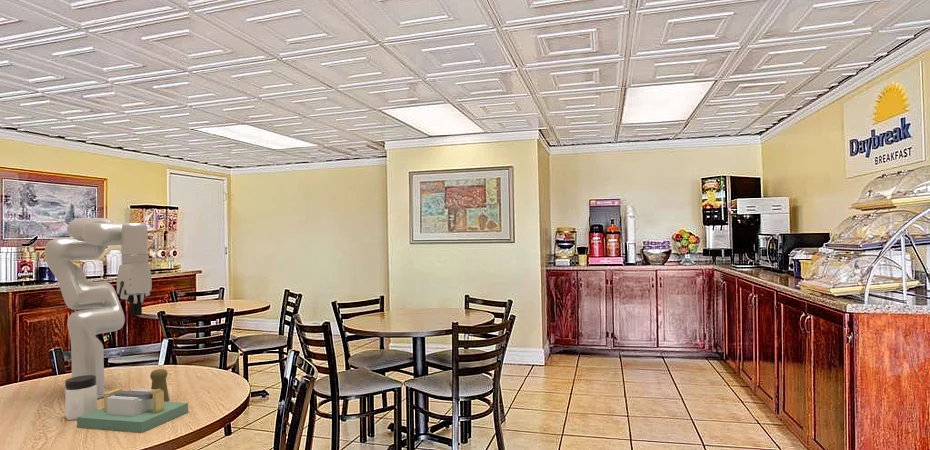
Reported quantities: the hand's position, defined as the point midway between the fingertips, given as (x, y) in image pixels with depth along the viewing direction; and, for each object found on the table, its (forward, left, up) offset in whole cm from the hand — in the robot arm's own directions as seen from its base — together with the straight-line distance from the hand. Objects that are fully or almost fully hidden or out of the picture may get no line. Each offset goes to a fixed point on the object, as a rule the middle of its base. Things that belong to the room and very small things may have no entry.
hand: (135, 315), depth 180 cm
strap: (+9, -9, -24) cm, 27 cm away
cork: (+1, +8, -31) cm, 32 cm away
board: (+8, -9, -31) cm, 33 cm away
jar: (-13, -9, -31) cm, 35 cm away
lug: (+17, -9, -28) cm, 34 cm away
